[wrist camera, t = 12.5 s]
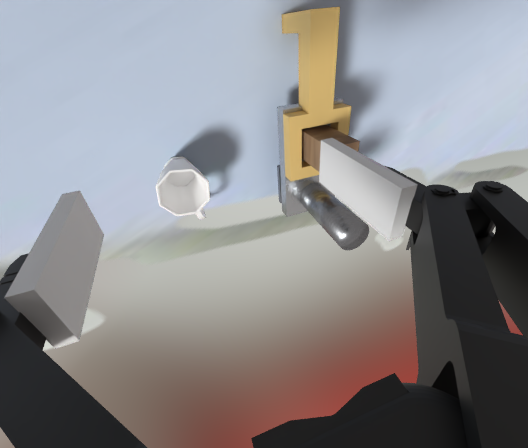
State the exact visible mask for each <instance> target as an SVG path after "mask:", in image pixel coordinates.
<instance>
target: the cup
mask: <svg viewBox="0 0 528 448" xmlns="http://www.w3.org/2000/svg"><path fill="white" fill-rule="evenodd" d="M156 191H157V196H158V201H159V206H161V207H162V208H164V209H166V210H167V211H169V212H171V213H172V214H174V215H176V216H182V215H189V214H196V215H197V217H198V218H199V219H200V220H202V219H204V218H206V216H205V212H204V210H203V207H204V206H205V205H206V203H207V202H208V201H209V200H210V191H209V181H208V180H207V179H206V178H205V177H204V175H203V174H202V173H201V172H200V171H199V170H198V169H197V168H196V167H194V166H193V165H192V163H191V162H189V161H188V160H187V159H186V158H184V157H171V158H170V159H169V161H168V162H167V163H166V164H165V165H164V169H163V170H162V172H161V173H160V176H159V179H158V181H157V184H156Z"/></svg>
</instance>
